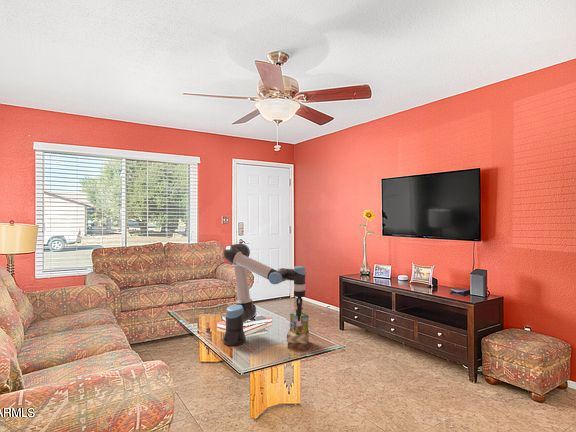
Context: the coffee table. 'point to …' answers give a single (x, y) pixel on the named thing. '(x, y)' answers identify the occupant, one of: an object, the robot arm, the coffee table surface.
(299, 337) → the birch slab
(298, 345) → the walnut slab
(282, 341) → the coffee table surface
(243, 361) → the coffee table surface
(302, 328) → the chalk box
